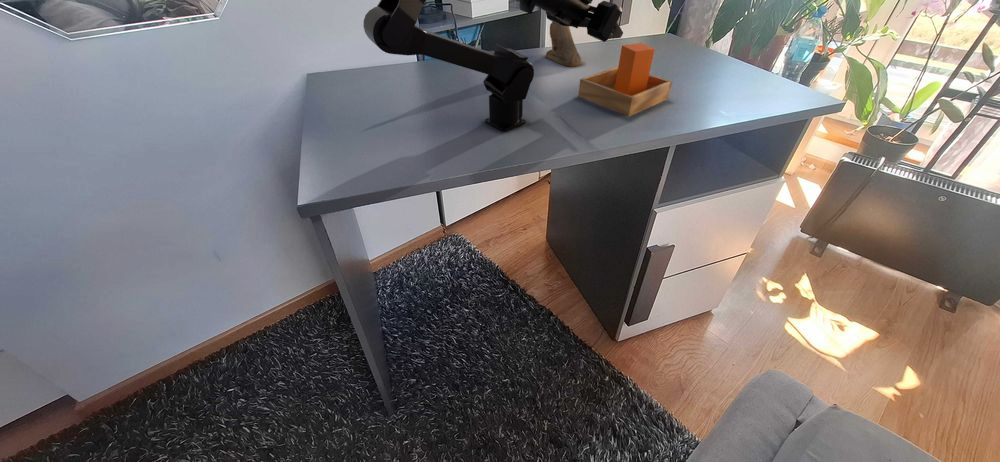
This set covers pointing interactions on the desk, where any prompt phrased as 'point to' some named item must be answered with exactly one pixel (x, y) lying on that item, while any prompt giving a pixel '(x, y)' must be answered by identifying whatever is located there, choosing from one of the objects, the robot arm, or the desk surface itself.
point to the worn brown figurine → (563, 46)
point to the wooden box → (603, 93)
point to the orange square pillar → (634, 68)
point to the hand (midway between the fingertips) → (606, 29)
